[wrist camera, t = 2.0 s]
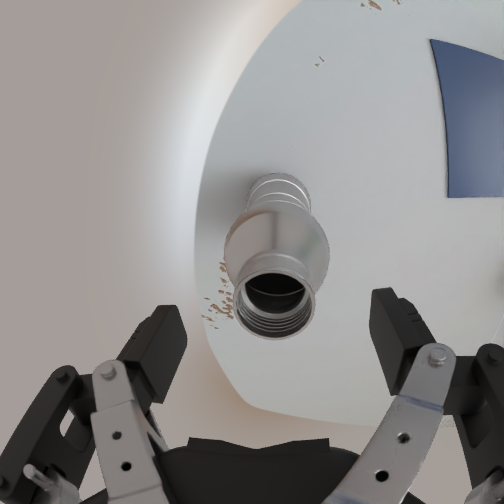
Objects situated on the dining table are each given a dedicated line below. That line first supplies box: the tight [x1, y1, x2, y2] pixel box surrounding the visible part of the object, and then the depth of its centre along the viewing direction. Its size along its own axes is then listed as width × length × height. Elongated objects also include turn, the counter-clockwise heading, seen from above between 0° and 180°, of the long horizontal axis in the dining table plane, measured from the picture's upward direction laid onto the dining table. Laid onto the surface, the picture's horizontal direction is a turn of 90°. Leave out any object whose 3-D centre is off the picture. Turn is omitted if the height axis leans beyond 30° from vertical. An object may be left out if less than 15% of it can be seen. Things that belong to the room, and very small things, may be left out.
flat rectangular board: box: [430, 39, 504, 198], centre depth 22 cm, size 20×16×1 cm
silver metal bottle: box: [224, 173, 330, 340], centre depth 21 cm, size 6×7×20 cm
